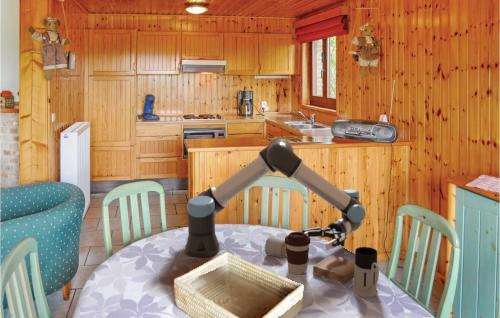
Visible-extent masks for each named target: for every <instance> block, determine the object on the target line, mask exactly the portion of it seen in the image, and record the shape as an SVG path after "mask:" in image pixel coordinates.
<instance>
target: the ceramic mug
mask: <svg viewBox="0 0 500 318" xmlns="http://www.w3.org/2000/svg"><path fill="white" fill-rule="evenodd" d="M286 246H287V245H286V243H285V239H281V238H278V237H277V238H276V237H274V236H273V237H272V236H269V237H268V238H267V239H266V240H265V245H264V252H265V255H266V256H267V255H268V256H270V257H271V256H272V257H277V258H284V257H286V256H287V254H286Z"/></svg>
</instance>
